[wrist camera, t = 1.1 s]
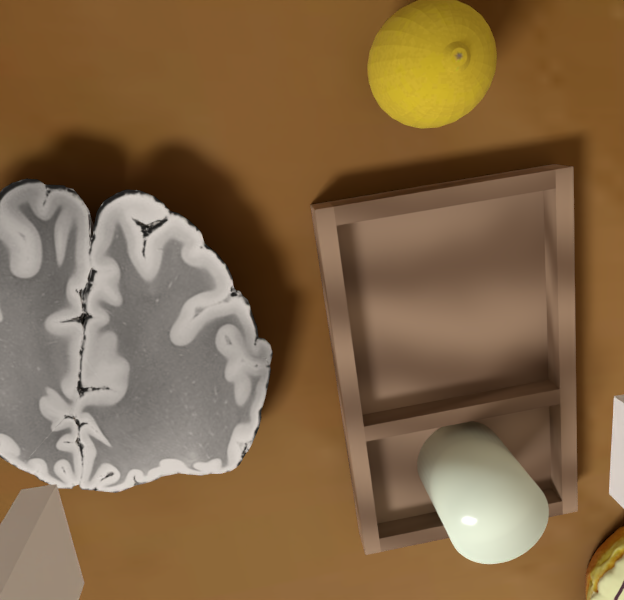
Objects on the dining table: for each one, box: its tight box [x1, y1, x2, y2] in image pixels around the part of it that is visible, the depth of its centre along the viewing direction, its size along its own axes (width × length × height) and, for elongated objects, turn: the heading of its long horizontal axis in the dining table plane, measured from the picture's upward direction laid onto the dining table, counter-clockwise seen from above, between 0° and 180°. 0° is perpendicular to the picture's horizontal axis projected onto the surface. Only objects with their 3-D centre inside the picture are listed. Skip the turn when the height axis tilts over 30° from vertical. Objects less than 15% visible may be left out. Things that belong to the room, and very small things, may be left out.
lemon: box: [367, 0, 497, 128], centre depth 27 cm, size 6×6×8 cm
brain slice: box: [0, 179, 273, 493], centre depth 32 cm, size 20×17×3 cm
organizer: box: [311, 164, 578, 555], centre depth 35 cm, size 22×14×2 cm, turn 9°
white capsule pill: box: [417, 421, 549, 564], centre depth 35 cm, size 6×6×6 cm
